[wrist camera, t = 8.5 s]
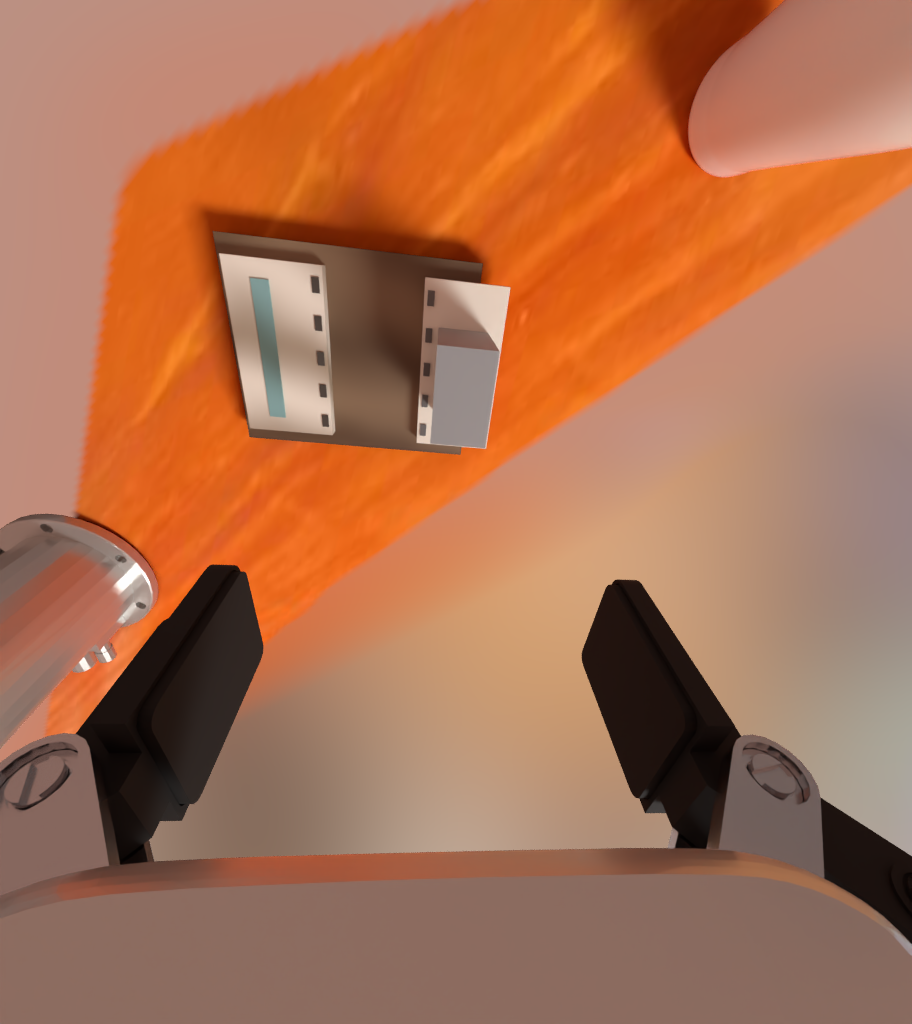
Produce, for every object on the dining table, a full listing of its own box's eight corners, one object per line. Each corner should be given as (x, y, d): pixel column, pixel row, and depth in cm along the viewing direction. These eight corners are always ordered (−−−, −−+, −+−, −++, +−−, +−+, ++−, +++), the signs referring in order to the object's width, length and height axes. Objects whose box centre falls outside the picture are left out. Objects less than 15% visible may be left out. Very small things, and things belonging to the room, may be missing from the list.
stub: (485, 444, 29) (495, 489, 23) (417, 438, 29) (410, 483, 23) (508, 286, 24) (529, 294, 18) (425, 277, 23) (420, 282, 18)
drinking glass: (691, 224, 24) (981, 179, 11) (650, 92, 21) (984, -182, 8) (814, 135, 22) (1342, -46, 9) (788, -25, 19) (1531, -641, 6)
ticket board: (459, 446, 31) (460, 459, 29) (258, 429, 30) (244, 441, 27) (480, 263, 24) (484, 263, 22) (225, 232, 23) (204, 229, 21)
